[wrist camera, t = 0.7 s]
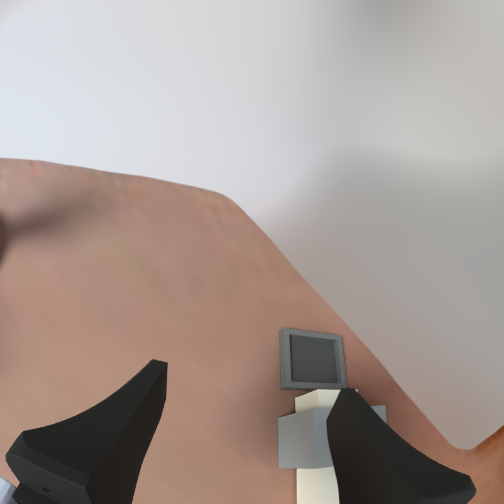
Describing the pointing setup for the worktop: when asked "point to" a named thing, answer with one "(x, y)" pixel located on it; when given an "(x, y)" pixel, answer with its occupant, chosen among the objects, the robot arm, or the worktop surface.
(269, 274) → the worktop surface
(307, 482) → the long ivory beam
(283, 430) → the tunnel
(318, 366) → the tray
